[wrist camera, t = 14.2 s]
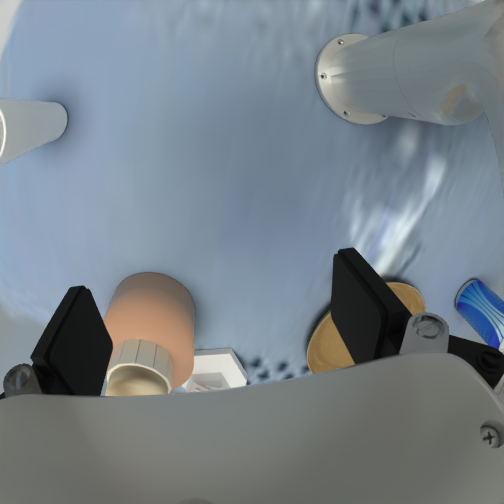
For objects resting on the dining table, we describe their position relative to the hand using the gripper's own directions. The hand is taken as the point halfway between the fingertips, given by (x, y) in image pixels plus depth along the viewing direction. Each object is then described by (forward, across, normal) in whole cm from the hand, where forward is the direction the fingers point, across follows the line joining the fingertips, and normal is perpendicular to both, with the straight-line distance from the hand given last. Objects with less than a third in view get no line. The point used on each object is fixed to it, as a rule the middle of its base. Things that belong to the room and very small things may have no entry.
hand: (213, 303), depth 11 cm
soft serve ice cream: (+29, +6, +36) cm, 46 cm away
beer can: (+28, -49, +30) cm, 64 cm away
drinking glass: (+28, +20, -10) cm, 36 cm away
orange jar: (+28, +12, +20) cm, 37 cm away
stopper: (+17, +12, +20) cm, 29 cm away
